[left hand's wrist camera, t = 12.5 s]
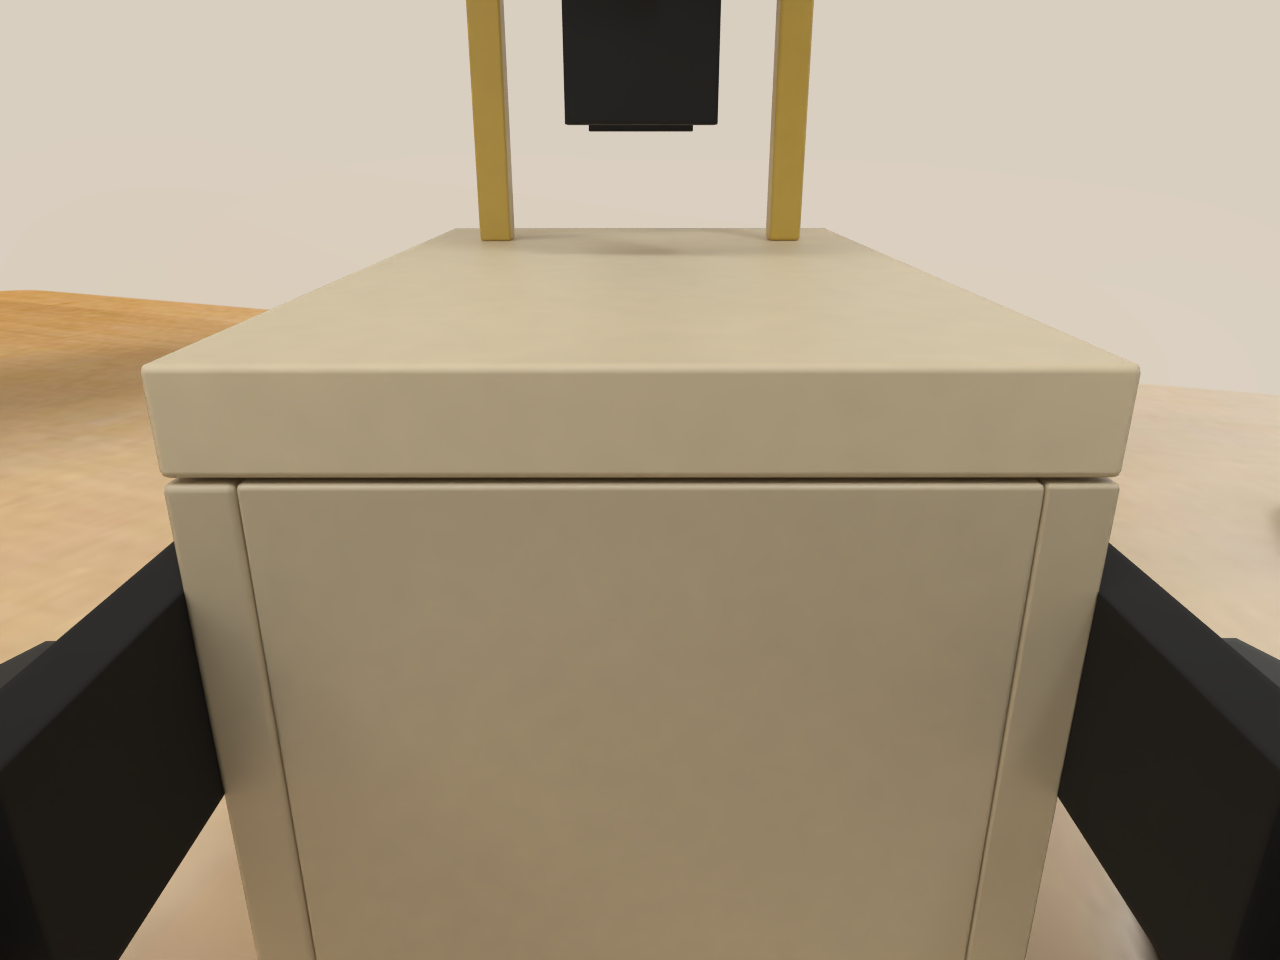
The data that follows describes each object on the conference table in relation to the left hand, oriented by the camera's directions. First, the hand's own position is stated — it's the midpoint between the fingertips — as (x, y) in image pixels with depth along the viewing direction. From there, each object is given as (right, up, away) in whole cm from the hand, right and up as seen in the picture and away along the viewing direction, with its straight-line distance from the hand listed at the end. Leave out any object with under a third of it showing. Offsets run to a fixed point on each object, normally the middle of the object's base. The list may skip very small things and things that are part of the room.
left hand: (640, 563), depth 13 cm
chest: (0, -5, +6) cm, 8 cm away
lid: (0, +4, +3) cm, 5 cm away
